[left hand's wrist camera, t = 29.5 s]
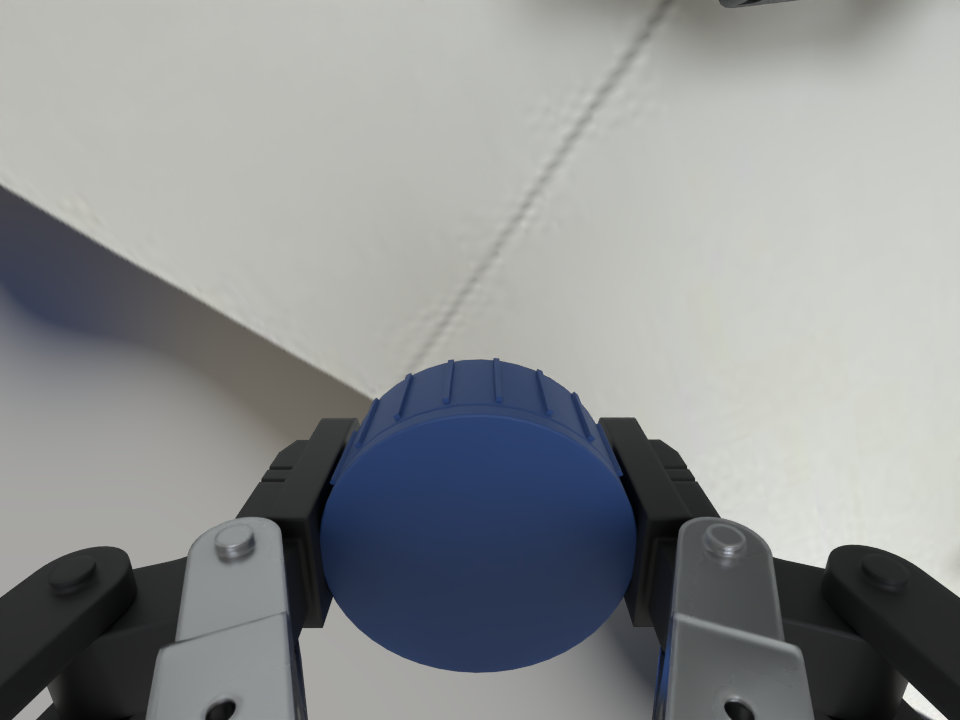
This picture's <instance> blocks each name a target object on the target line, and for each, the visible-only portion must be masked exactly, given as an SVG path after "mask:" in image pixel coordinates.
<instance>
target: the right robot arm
mask: <svg viewBox="0 0 960 720" xmlns="http://www.w3.org/2000/svg"><path fill="white" fill-rule="evenodd" d="M787 1H795V0H719V2H720V4H721V5H723V6H724V7H726V8H736V7H745V6H753V5H762V4H770V3H778V2H787Z"/></svg>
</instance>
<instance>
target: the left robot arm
mask: <svg viewBox="0 0 960 720" xmlns="http://www.w3.org/2000/svg"><path fill="white" fill-rule="evenodd" d="M598 423H600V424H601V426H602V428H603V430H604V433H605V435H606V437H607V439H608V442H609V444H610V446H611V448H612V451H613V453H614V455H615V457H616V460H617V462H618V464H619V466H620V469H621V471H622V473H623V475H622V476H620V477H619V478H620V481H621V483H622V485H623V488H624V490H625V492H626V495H627V497H628V499H629V502H630V504H631V506H632V510H633V514H634V517H635V521H636V526H637V542H636V551H635V559H634V566H633V574H632V579H631V581H630V584H629V586H628V589H627V591H626V593H625V595H624V598H625V601H626V605H627V608H628V611H629V614H630V617H631V620H632V623H633V626H634V627H654V629H655V631H656V634H657V637H658V640H659V642H660V645H661V647H660V653H659V660H658V670H657V679H656V688H655V698H654V707H653V717H652V720H924V719H923V718H922V717H921V716H920V715H919V714H918V713H917V712H916V711H915V710H914V709H913V708H912V707H911V706H910V705H909V704H908V703H907V702H906V701H905V700H904V699H903V698H902V697H903V694H904V692H905V689H906V687H907V684H908V682H909V683H911V684H912V685H913V686H914V687H915V688H916V689H917V690H918V691H919V692H920V693H921V694H922V695H923V696H924V697H925V698H926V699H927V700H928V701H929V702H930V703H931V704H932V705H933V706H934V707H936V708H937V709H938V710H939V711H940V712H941V713H942V714H943V715H944V716H945V717H946V718H947V719H948V720H960V598H959V597H958V596H957V595H955V594H954V593H953V592H951V591H950V590H948V589H947V588H946V587H944V586H943V585H942V584H940V583H939V582H938V581H936V580H935V579H934V578H932V577H931V576H930V575H928V574H927V573H926V572H924V571H923V570H921V569H920V568H919V567H917V566H916V565H914V564H912V563H911V562H909V561H907V560H905V559H903V558H901V557H899V556H897V555H895V554H892V553H890V552H887V551H884V550H881V549H878V548H874V547H869V546H863V545H844V546H840V547H837V548H835V549H834V550H833V551H832V552H831V553H830V555H829V557H828V561H827V564H826V568H825V569H823V568H819V567H814V566H809V565H805V564H800V563H795V562H791V561H786V560H782V559H778V558H775V557H773V556H772V552H771V549H770V548H769V546H768V544H767V543H766V542H765V541H764V539H762V538H761V537H760V536H759V535H758V534H757V533H755V532H754V531H752V530H751V529H749V528H747V527H745V526H743V525H741V524H739V523H736V522H733V521H731V520H727V519H723V518H721V517H720V516H719V514H718V513H717V511H716V510H715V508H714V507H713V505H712V504H711V502H710V500H709V499H708V497H707V496H706V494H705V493H704V491H703V490H702V488H701V487H700V485H699V484H698V482H695V478H694V476H693V475H692V473H691V472H690V470H689V469H687V465H686V464H685V462H684V461H683V459H682V458H681V456H680V455H679V453H678V452H677V451H676V450H674V449H673V448H671V447H670V446H668V445H667V444H666V443H664V442H663V441H661V440H648V439H647V437H646V436H645V434H644V432H643V430H642V429H641V427H640V425H639V423H638V422H637V420H636V419H635V418H600V419H599V421H598ZM359 428H360V425H359V421H358V419H357V418H322V419H321V421H320V422H319V424H318V426H317V427H316V429H315V431H314V432H313V434H312V436H311V438H310V439H309V440H297V441H295V442H294V443H292V444H291V445H289V446H288V447H286V448H285V449H284V450H282V451H281V452H279V454H278V455H277V457H276V458H275V460H274V461H273V463H272V464H271V466H270V469H269V470H267V472H266V473H265V475H264V476H263V478H262V481H261V482H259V484H258V485H257V487H256V488H255V490H254V491H253V493H252V494H251V496H250V497H249V499H248V500H247V502H246V503H245V505H244V506H243V508H242V509H241V511H240V512H239V514H238V515H237V517H236V518H235V519H233V520H229V521H227V522H224V523H221V524H219V525H217V526H215V527H213V528H211V529H209V530H208V531H206V532H205V533H203V534H202V535H201V536H200V537H199V538H198V539H196V541H195V542H194V543H193V544H192V546H191V548H190V549H189V552H188V556H187V557H184V558H181V559H178V560H174V561H170V562H165V563H160V564H156V565H151V566H146V567H142V568H137V569H132V566H131V563H130V559H129V557H128V554H127V553H126V552H125V551H123V550H121V549H119V548H115V547H108V546H103V547H92V548H87V549H83V550H79V551H76V552H73V553H70V554H67V555H65V556H62V557H60V558H58V559H56V560H54V561H52V562H50V563H48V564H46V565H45V566H43V567H42V568H40V569H39V570H37V571H36V572H34V573H33V574H32V575H30V576H29V577H28V578H26V579H25V580H24V581H22V582H21V583H20V584H18V585H17V586H16V587H14V588H13V589H11V590H10V591H9V592H7V593H6V594H5V595H3V596H2V597H1V598H0V720H12V719H13V718H14V717H15V716H16V715H17V714H18V713H19V712H20V711H21V710H22V709H23V708H24V707H25V706H27V705H28V704H29V703H30V702H31V701H32V700H33V699H34V698H35V697H36V696H37V695H38V694H39V693H40V692H41V691H42V690H43V689H44V688H45V687H46V686H47V687H48V690H49V692H50V695H51V697H52V700H53V703H52V704H51V705H50V707H48V708H47V709H46V710H45V711H44V712H43V713H42V714H41V715H40V716H39V717H38V718H37V719H36V720H308V716H307V707H306V698H305V688H304V679H303V670H302V660H301V653H300V647H299V641H298V638H299V635H300V633H301V630H302V628H323V625H324V622H325V619H326V616H327V613H328V610H329V607H330V604H331V601H332V598H333V595H332V593H331V591H330V589H329V588H328V585H327V582H326V579H325V576H324V569H323V562H322V554H321V546H320V537H319V532H320V524H321V518H322V515H323V512H324V509H325V506H326V502H327V500H328V498H329V496H330V493H331V491H332V489H333V486H334V485H332V484H330V481H331V479H332V476H333V474H334V472H335V470H336V468H337V465H338V463H339V461H340V459H341V457H342V454H343V452H344V450H345V448H346V446H347V443H348V441H349V439H350V437H351V435H352V432H353V430H355V431H357V432H358V430H359Z"/></svg>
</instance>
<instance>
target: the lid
mask: <svg viewBox="0 0 960 720" xmlns="http://www.w3.org/2000/svg"><path fill="white" fill-rule="evenodd" d="M622 475H623V473H622V471H621V469H620V466H619V464H618V462H617V460H616V457H615V455H614V453H613V451H612V448H611V446H610V444H609V442H608V439H607V437H606V435H605V433H604V430H603V428H602V426H601V424H600V423H598V424H596V423H595V422H594V420H593V419H592V417H591V415H590V414H589V412H588V411H587V410H586V408H585V407H584V406H583V405H582V404H581V402H580V399H579V397H578V395H577V394H576V393H575V392H573V393H572V394H571V393H570V392H569V391H568V390H567V389H565V388H564V387H563V386H561V385H560V384H558V383H557V382H555V381H554V380H552V379H551V378H549V377H547V376H545V375H543V372H542V371H541V370H539V369H537V371H535V370H532V369H529V368H526V367H523V366H520V365H517V364H512V363H507V362H502V361H499V359H497V358H494V359H493V360H462V361H456V362H454V360H448V363H444V364H441V365H438V366H434V367H431V368H428V369H425V370H423V371H421V372H419V373H416V374H414V375H412V374H411V373H410V374H408V375H406V378H405V380H403V381H402V382H400V383H398V384H397V385H396V386H394V387H393V388H392V389H391V390H389V391H388V392H387V393H386V394H384V395H383V396H382V397H381V398H380V400H379V399H377V398H376V399H375V400H374V401H373V403H372V405H371V407H370V410H369V412H368V414H367V416H366V417H365V418H364V420H363V422H362V424H361V426H360V428H359V430H358V432H357V431H355V430H353V432H352V435H351V437H350V439H349V441H348V443H347V446H346V448H345V450H344V452H343V454H342V457H341V459H340V461H339V463H338V465H337V468H336V470H335V472H334V474H333V476H332V479H331V481H330V484H332V485H334V486H333V489H332V491H331V493H330V496H329V498H328V500H327V502H326V506H325V509H324V512H323V515H322V518H321V524H320V532H319V537H320V546H321V554H322V562H323V569H324V576H325V579H326V582H327V585H328V588H329V589H330V591H331V593H332V595H333V597H334V599H335V601H336V602H337V604H338V605H339V607H340V608H341V609H342V611H343V612H344V613H345V615H346V616H347V617H348V618H349V619H350V620H351V621H352V622H353V623H354V625H355V626H356V627H357V628H358V629H359V630H361V631H362V632H363V633H364V634H366V635H367V636H368V637H369V638H371V639H372V640H373V641H375V642H376V643H378V644H379V645H381V646H383V647H384V648H386V649H387V650H389V651H391V652H393V653H395V654H397V655H399V656H401V657H403V658H406V659H409V660H411V661H414V662H417V663H419V664H423V665H427V666H431V667H435V668H438V669H444V670H451V671H457V672H473V673H480V672H498V671H506V670H513V669H518V668H522V667H526V666H531V665H534V664H537V663H540V662H543V661H546V660H549V659H551V658H553V657H555V656H557V655H559V654H562V653H564V652H566V651H567V650H569V649H571V648H572V647H574V646H576V645H578V644H579V643H581V642H582V641H583V640H585V639H586V638H587V637H589V636H590V635H591V634H593V633H594V632H595V631H596V630H597V629H598V628H599V627H600V626H601V625H602V624H603V623H604V622H605V621H606V620H607V619H608V618H609V617H610V615H611V614H612V613H613V612H614V610H615V609H616V608H617V607H618V605H619V603H620V601H621V600H622V598H623V596H624V595H625V593H626V591H627V589H628V586H629V584H630V581H631V579H632V574H633V566H634V559H635V551H636V542H637V526H636V521H635V517H634V514H633V510H632V506H631V504H630V502H629V499H628V497H627V495H626V492H625V490H624V488H623V485H622V483H621V481H620V478H619V477H620V476H622Z"/></svg>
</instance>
